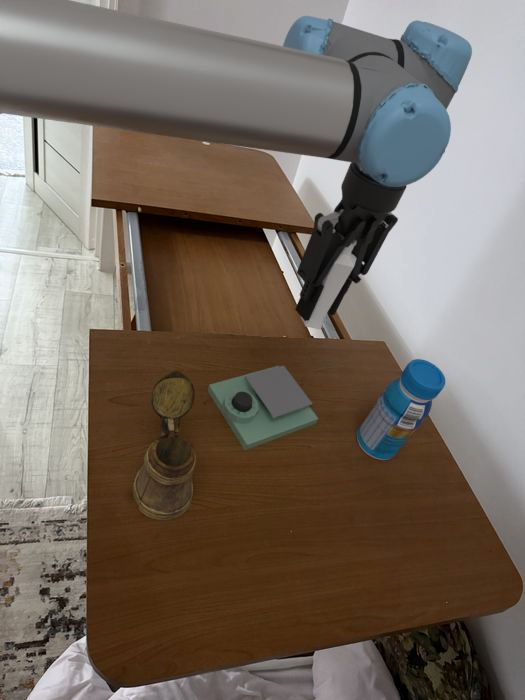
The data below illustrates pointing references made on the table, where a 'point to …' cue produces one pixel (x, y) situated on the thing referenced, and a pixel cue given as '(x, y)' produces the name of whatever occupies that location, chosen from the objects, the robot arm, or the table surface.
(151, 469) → the wooden mug
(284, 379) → the scale plate
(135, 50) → the robot arm
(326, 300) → the white faceted vase
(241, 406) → the tare button
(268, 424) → the scale
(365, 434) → the beverage bottle
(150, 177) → the table surface
